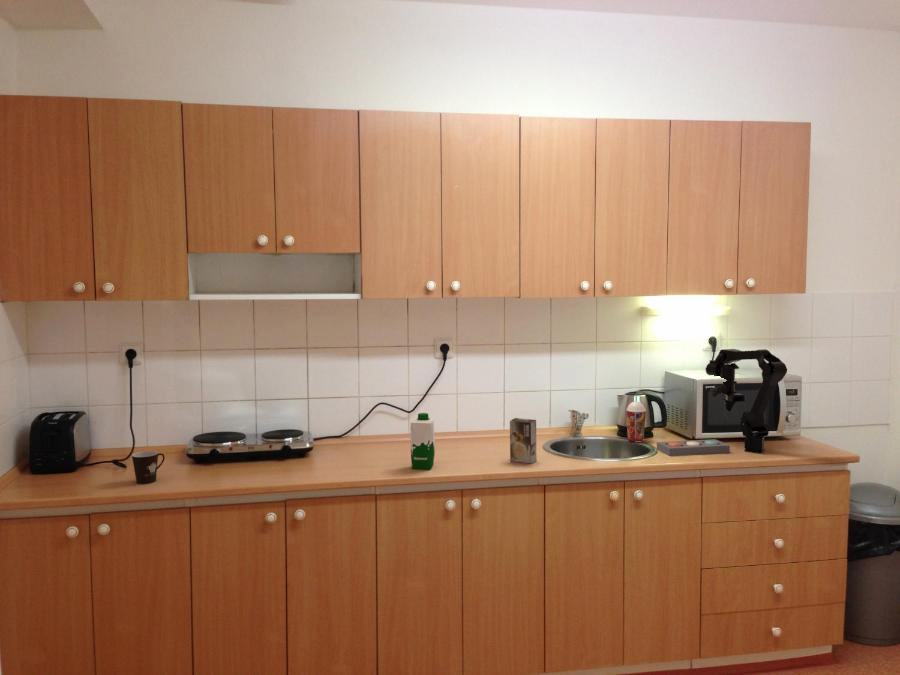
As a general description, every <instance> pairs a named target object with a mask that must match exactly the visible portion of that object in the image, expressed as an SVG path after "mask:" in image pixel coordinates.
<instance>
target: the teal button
mask: <svg viewBox="0 0 900 675" xmlns="http://www.w3.org/2000/svg"><path fill="white" fill-rule="evenodd" d="M705 444H707V445H716V444H718V442H716V441H705Z"/></svg>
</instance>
